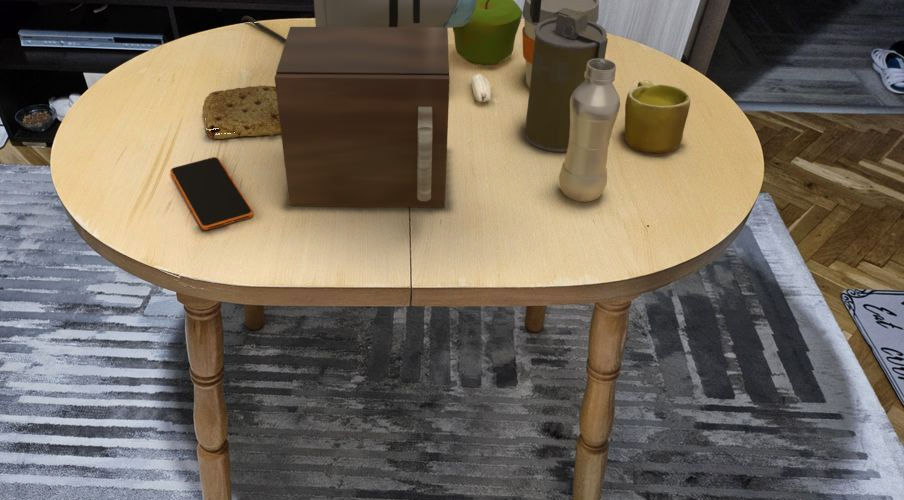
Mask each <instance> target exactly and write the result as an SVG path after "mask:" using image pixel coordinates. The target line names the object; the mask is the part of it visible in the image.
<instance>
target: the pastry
mask: <svg viewBox="0 0 904 500" xmlns="http://www.w3.org/2000/svg"><path fill="white" fill-rule="evenodd" d="M203 111H204V112H203ZM202 112H203V116H204V119H205V118H206V124H205V125H206V126H204V127H205V131H206V133H207V136H208V137H209V138H210V139H214V140H226V139H235V138H236V137H238V138H241V137H261V136H269V137H273V136H275V135H281V129H280V120H279V112H278V103H277V94H276V86H275V85H254V86H251V85H250V86H249V85H248V86H245V87H235V88H230V89H225V90H223V89H221V90H216V91H212V92H210V93H209V94H208V95H207V96H206V97H205V98H204V101H203V106H202ZM206 128H207V129H213V128H219V129H216V130H215V129H214V130H211V131H209V130H206ZM234 132H235V133H234ZM216 133H217V134H218V133H220V135H215V134H216ZM221 133H222V134H221ZM224 133H226V134H224ZM227 133H231V134H227Z"/></svg>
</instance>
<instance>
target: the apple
mask: <svg viewBox="0 0 904 500" xmlns="http://www.w3.org/2000/svg"><path fill="white" fill-rule="evenodd" d="M522 12H523V9H521V7H520V6H519V5H518V4H517V2H516V1H515V0H477V1H476V5H475V9H474V12H473V15H472V17H471V19H470V21H469V22H468V23H467V24H466V25H464V26H461V27H453V28H452V33H453V38H454V48H455V51H456V53H457V54H458V55H459V56H460V57H462V58H463V59H464V60H466V61H467V62H468V63H470V64H473V65H476V66H485V67H486V66H494V65H497V64H500V63H501V62H503V61H505V60H507V59H508V58H509V57H510V56H512V53H513V52H514V46H515V41H516V37H517V36H516V35H517V33H518V30H519V28H520V25H521V21H522V17H523V14H522Z"/></svg>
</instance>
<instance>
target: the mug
mask: <svg viewBox="0 0 904 500" xmlns="http://www.w3.org/2000/svg"><path fill="white" fill-rule="evenodd" d="M690 107H691V96H690V95H689V93H688V92H687V91H685V90H684V89H682V88H680V87H678V86H674V85H668V84H654V83H653V82H652V81H651V80H649V79H648V80H640V81H638V82H637V87H634V88H632V89H630V90H629V91H628V93H627V95H626V99H625V105H624V138H625V141H626V143H627V144H628V146H629V147H631V148H632V149H634V150H636V151H639V152H646V153H650V154H660V153H661V154H663V153H664V154H665V153H667V152H671V151H674V150H675V149H678V148H679V147H680V145H681V144H682V141H683V137H684V131H685V127H686V123H687V119H688V115H689V112H690Z"/></svg>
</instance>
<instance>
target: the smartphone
mask: <svg viewBox="0 0 904 500" xmlns="http://www.w3.org/2000/svg"><path fill="white" fill-rule="evenodd" d="M169 172H170V174H171V176H172V178H173V180H174V181H175V183H176V185H177V187H178V189H179V190H180V192H181V194H182V195H183V197H184V200H185V201H186V203H187V204H188V206H189V208H190V211H192V214H193V215H194V217H195V219H196V221H197V222H198V224H199V226H200V228H201V229H202V230H205V231H207V230H212V229H215V228H218V227H222V226H225V225H228V224H232V223H235V222H238V221H241V220H244V219H248V218H251V217H253V216H254V211H253V209H252V207H251V206H250V204H249V203H248V201H247V200H246V198H245V196H244V195H243V194H242V192H241V191H240V189H239V188H238V186H237V185H236V183H235V181H234V178H233V177H232V176H231V175H230V173H229V171H228V170H227V168H226V167H225V165H224V164H223V163H222V161H221V159H220V158H219V157H217V156H213V157H209V158H205V159H202V160H197V161H193V162H190V163H186V164H182V165H178V166H175V167H172V168H171V169H170V170H169Z"/></svg>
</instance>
